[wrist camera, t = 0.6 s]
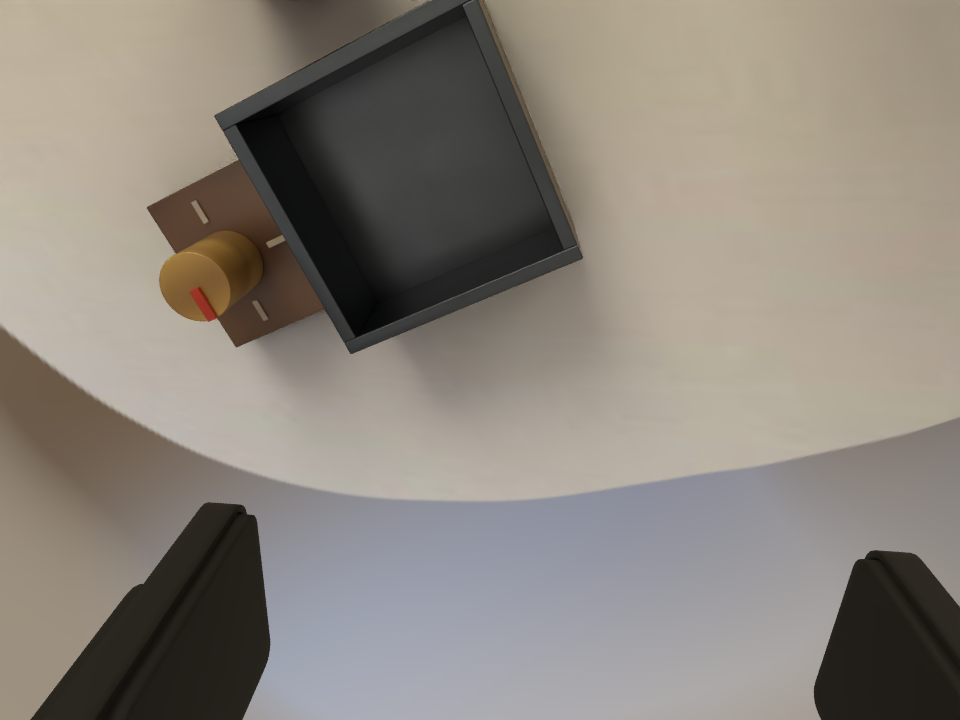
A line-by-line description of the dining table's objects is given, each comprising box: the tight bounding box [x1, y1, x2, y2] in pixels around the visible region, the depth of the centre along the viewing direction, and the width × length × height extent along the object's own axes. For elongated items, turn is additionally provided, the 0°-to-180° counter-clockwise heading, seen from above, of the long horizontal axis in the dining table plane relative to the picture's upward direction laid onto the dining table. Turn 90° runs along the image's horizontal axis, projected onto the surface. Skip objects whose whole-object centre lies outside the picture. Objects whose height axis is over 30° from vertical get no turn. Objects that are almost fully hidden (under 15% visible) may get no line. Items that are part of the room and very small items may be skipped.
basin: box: [215, 0, 583, 354], centre depth 38 cm, size 14×14×7 cm
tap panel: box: [147, 160, 325, 347], centre depth 42 cm, size 10×9×3 cm
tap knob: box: [159, 231, 263, 322], centre depth 39 cm, size 4×4×5 cm
